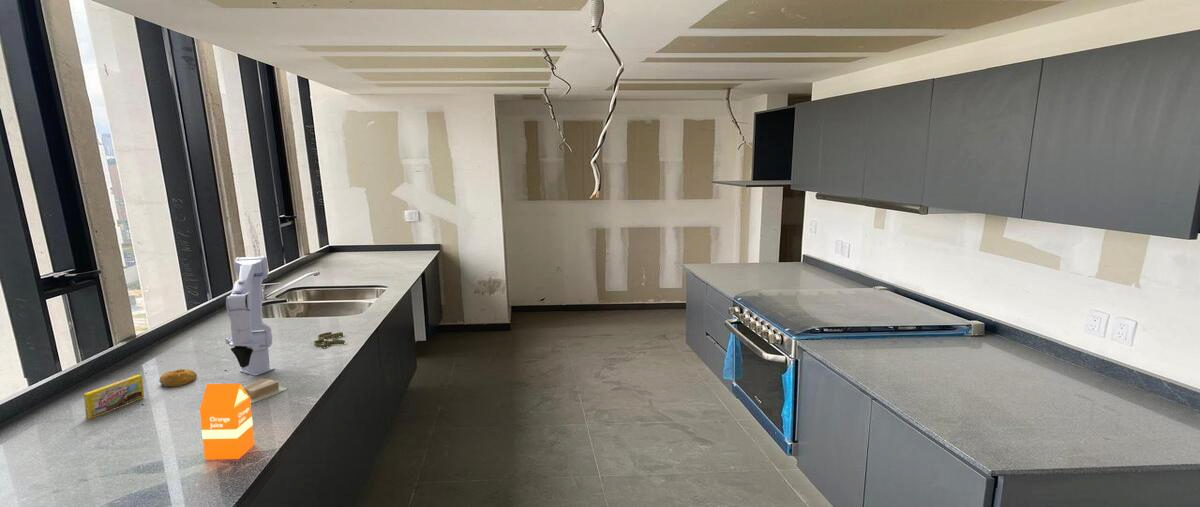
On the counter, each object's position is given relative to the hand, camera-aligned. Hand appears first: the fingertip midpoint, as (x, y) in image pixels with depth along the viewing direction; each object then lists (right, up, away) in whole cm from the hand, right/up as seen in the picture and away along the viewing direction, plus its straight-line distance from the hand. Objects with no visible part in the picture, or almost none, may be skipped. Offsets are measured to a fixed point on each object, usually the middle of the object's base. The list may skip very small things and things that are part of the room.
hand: (244, 366), depth 183 cm
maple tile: (+1, -8, +2) cm, 8 cm away
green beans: (+1, -1, +56) cm, 56 cm away
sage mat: (+6, -10, +1) cm, 11 cm away
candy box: (-34, -11, -11) cm, 37 cm away
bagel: (-30, -8, +10) cm, 33 cm away
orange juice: (+20, -16, -36) cm, 44 cm away
